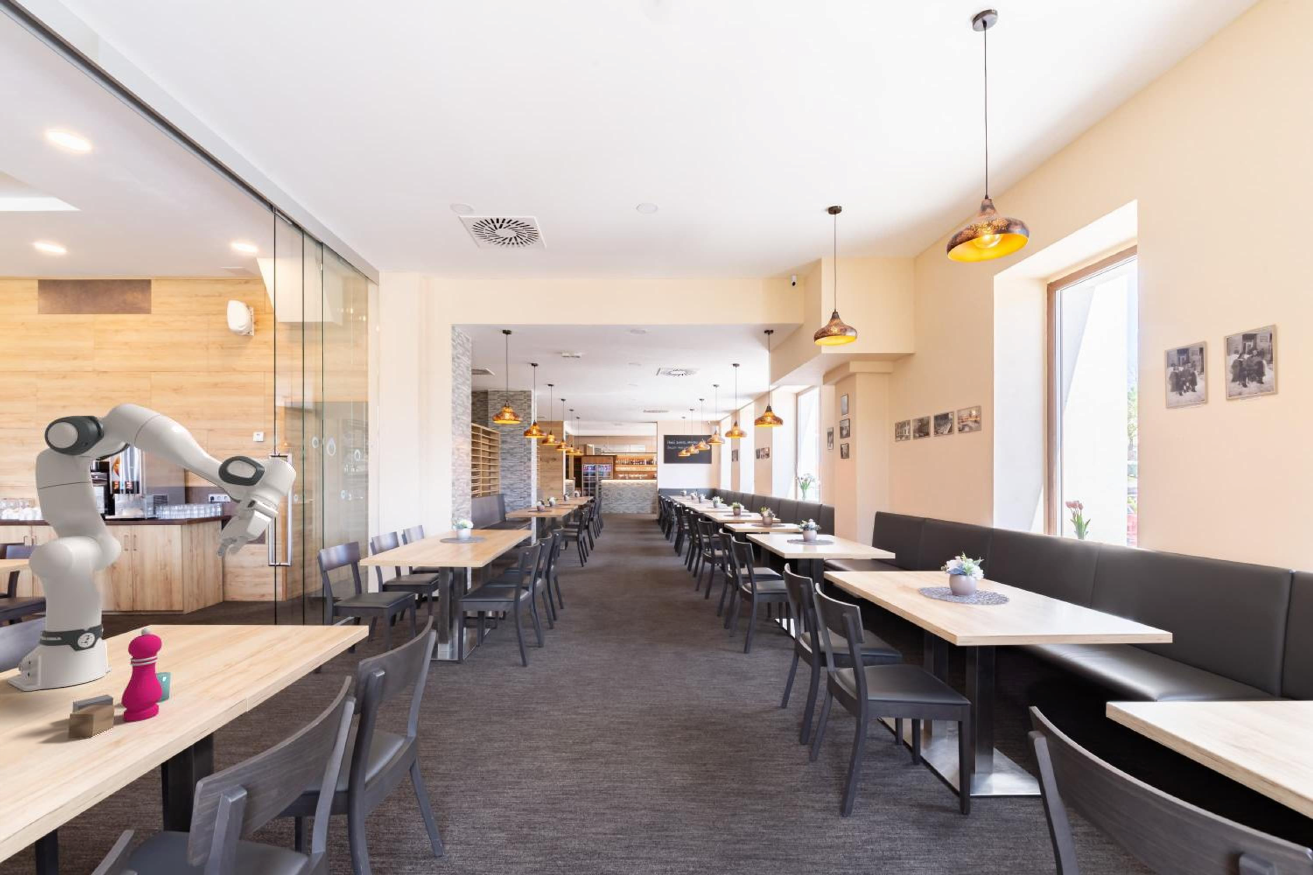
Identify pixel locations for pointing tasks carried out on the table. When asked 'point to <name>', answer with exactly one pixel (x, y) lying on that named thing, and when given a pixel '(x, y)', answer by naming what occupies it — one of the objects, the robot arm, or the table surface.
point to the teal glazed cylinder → (164, 685)
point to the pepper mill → (142, 678)
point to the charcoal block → (92, 702)
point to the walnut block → (91, 721)
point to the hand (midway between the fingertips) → (224, 555)
